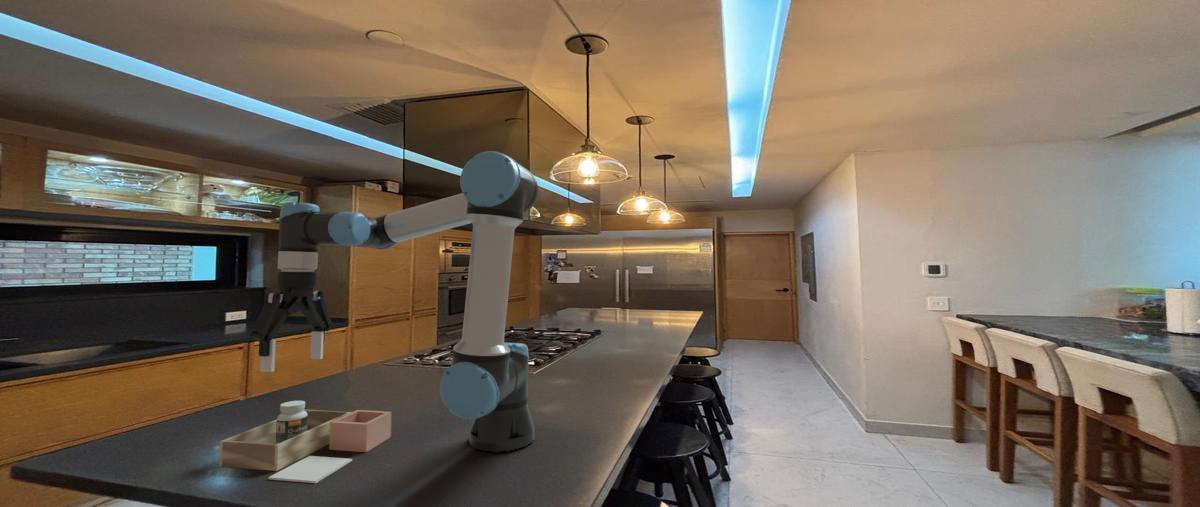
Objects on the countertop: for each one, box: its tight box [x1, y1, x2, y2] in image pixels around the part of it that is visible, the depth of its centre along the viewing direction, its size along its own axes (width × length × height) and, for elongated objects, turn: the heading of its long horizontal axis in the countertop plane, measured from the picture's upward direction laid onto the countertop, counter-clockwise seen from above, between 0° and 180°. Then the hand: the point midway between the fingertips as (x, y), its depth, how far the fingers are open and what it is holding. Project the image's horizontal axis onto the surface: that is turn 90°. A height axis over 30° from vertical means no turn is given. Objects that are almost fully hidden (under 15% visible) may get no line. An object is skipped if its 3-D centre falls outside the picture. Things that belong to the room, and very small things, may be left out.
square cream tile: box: [267, 455, 353, 484], centre depth 89 cm, size 10×10×1 cm
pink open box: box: [328, 409, 393, 453], centre depth 103 cm, size 9×9×6 cm
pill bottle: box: [275, 400, 308, 444], centre depth 100 cm, size 6×6×10 cm
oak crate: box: [218, 408, 352, 472], centre depth 100 cm, size 21×13×5 cm, turn 172°
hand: (293, 364), depth 101 cm, fingers open, 13 cm apart
